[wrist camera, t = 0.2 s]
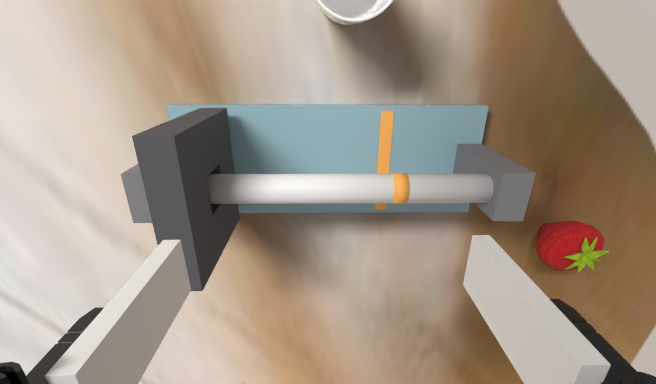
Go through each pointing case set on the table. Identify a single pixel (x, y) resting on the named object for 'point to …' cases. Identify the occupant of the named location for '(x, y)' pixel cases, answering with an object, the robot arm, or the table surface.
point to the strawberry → (569, 245)
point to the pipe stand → (357, 161)
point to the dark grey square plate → (189, 186)
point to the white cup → (352, 10)
